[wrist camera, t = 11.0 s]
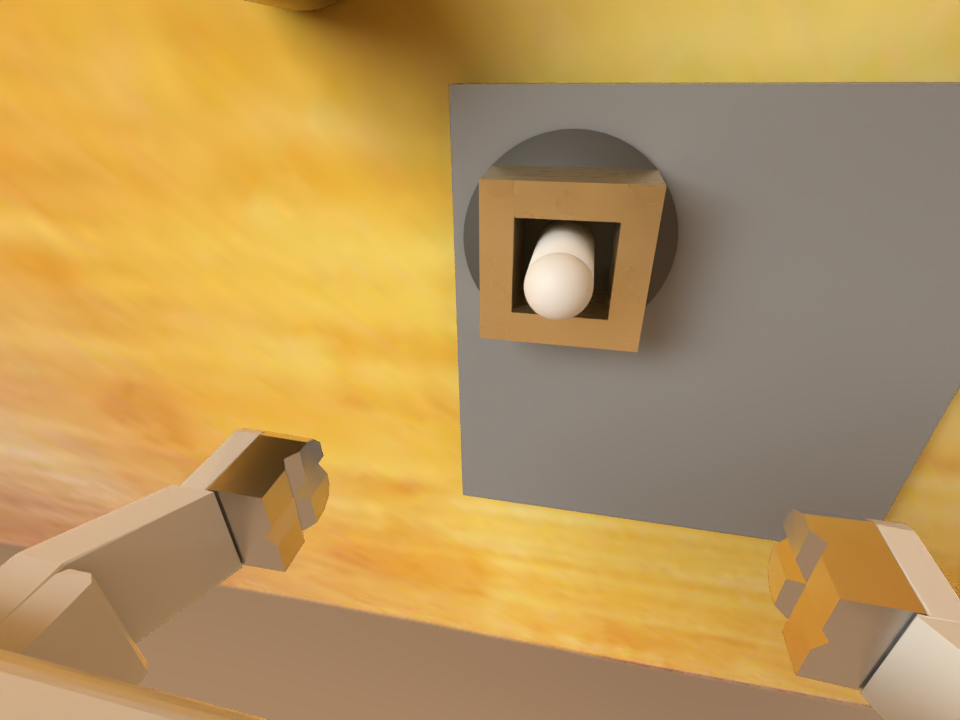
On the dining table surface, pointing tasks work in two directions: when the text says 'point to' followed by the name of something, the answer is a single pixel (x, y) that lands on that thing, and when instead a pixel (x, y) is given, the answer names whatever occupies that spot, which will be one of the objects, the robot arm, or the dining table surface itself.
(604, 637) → the dining table surface
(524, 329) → the wooden collar
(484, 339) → the post board
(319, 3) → the supplement bottle
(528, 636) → the dining table surface
